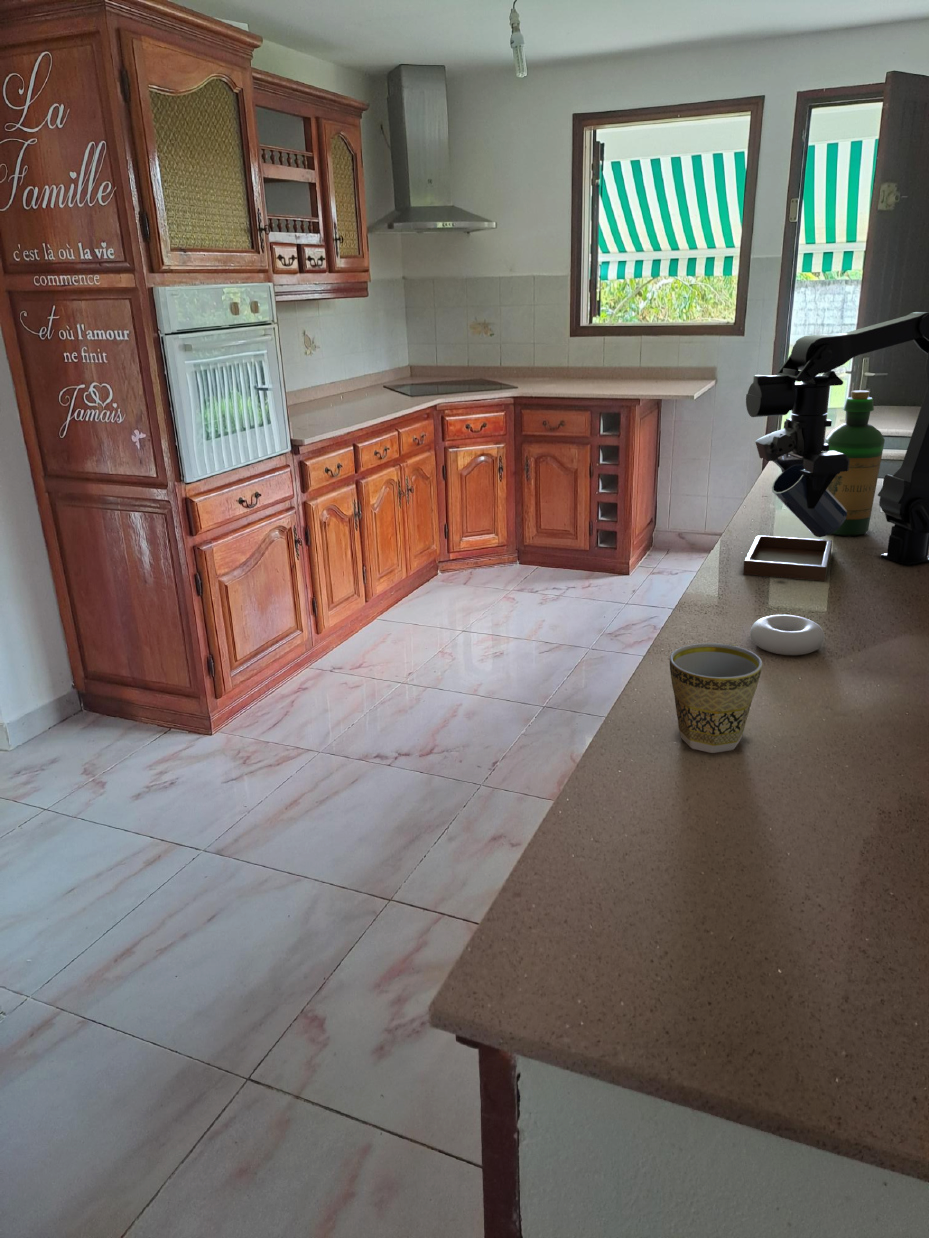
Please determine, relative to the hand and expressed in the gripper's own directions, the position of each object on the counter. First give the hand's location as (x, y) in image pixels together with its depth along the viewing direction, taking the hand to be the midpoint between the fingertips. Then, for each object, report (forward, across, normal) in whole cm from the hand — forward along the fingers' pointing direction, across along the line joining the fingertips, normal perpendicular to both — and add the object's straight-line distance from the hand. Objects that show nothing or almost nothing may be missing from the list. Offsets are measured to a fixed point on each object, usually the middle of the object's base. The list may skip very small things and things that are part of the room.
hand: (800, 503), depth 155 cm
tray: (+12, -3, 0) cm, 12 cm away
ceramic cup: (+12, +56, -38) cm, 69 cm away
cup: (+4, 0, +6) cm, 7 cm away
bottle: (+12, -20, +21) cm, 32 cm away
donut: (+12, +33, -18) cm, 39 cm away
